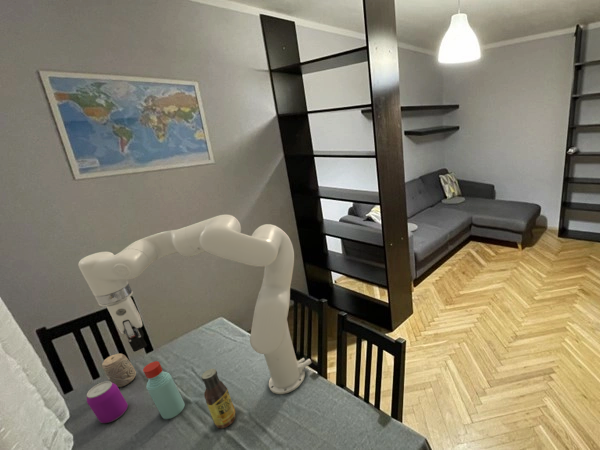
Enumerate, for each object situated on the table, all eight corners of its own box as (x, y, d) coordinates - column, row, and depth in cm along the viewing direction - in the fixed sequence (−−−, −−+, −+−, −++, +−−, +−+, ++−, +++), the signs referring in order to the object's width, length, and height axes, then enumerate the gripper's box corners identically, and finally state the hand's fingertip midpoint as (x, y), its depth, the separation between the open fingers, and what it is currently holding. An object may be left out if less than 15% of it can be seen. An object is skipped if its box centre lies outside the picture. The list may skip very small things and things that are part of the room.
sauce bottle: (228, 431, 98) (208, 385, 90) (211, 428, 99) (190, 382, 92) (241, 411, 104) (224, 367, 96) (225, 409, 105) (206, 365, 98)
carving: (110, 387, 118) (95, 363, 113) (131, 372, 124) (119, 348, 120) (119, 392, 115) (105, 368, 111) (141, 376, 122) (129, 352, 117)
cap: (161, 365, 103) (158, 359, 102) (163, 372, 100) (160, 366, 99) (145, 373, 100) (142, 366, 99) (147, 380, 97) (143, 374, 96)
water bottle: (182, 397, 111) (162, 356, 103) (186, 409, 106) (165, 366, 99) (160, 410, 107) (137, 368, 99) (163, 423, 102) (140, 379, 95)
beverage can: (96, 429, 102) (79, 403, 98) (104, 410, 109) (88, 385, 104) (125, 417, 105) (110, 392, 101) (131, 400, 112) (117, 375, 107)
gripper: (133, 299, 85) (158, 350, 92) (128, 278, 97) (150, 324, 104) (97, 313, 80) (126, 365, 87) (96, 288, 92) (121, 336, 99)
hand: (139, 342), depth 95 cm, fingers open, 6 cm apart
